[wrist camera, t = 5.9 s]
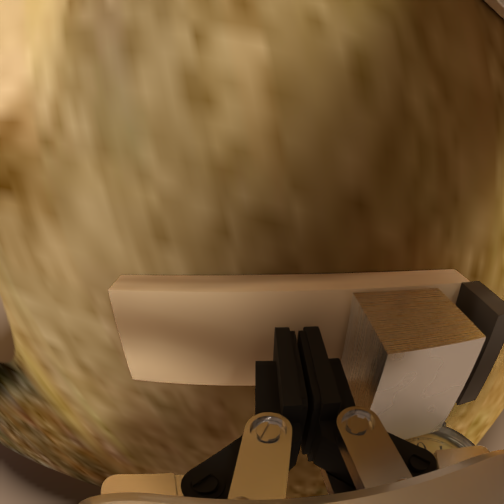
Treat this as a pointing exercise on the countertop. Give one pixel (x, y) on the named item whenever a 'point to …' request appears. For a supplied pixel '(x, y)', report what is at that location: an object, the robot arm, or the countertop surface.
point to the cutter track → (268, 319)
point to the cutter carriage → (408, 357)
